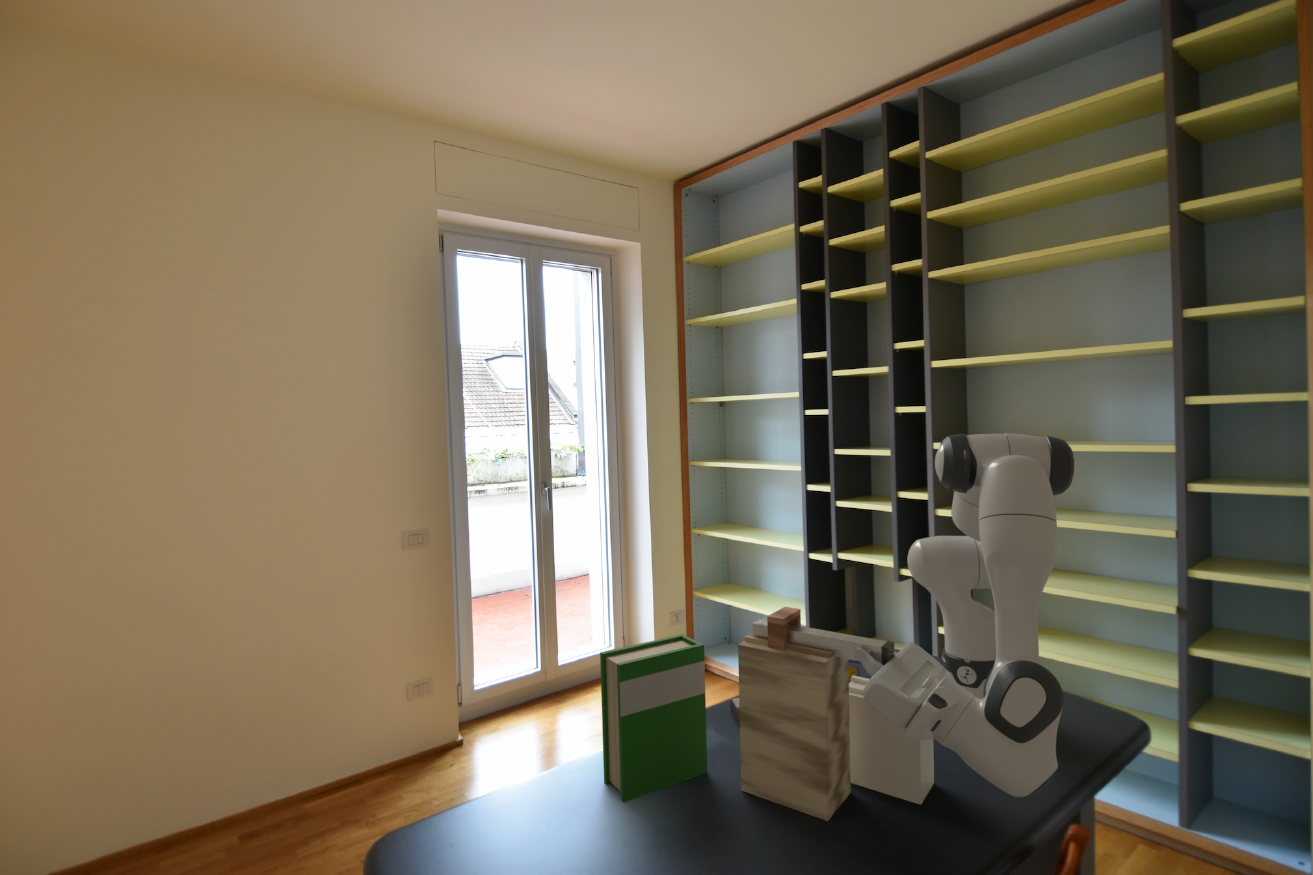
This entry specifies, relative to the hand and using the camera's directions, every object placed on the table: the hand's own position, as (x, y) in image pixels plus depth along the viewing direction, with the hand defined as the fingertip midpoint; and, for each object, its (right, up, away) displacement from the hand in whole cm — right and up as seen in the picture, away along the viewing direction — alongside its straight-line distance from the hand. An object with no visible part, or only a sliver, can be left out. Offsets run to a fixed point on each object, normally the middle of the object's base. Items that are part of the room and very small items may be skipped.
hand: (861, 646), depth 111 cm
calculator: (-9, -28, +36) cm, 46 cm away
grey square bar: (-6, -2, +4) cm, 7 cm away
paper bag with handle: (-9, -28, +8) cm, 30 cm away
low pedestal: (+8, -27, +11) cm, 30 cm away
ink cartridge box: (+8, -26, +44) cm, 52 cm away
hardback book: (-33, -29, +14) cm, 46 cm away
